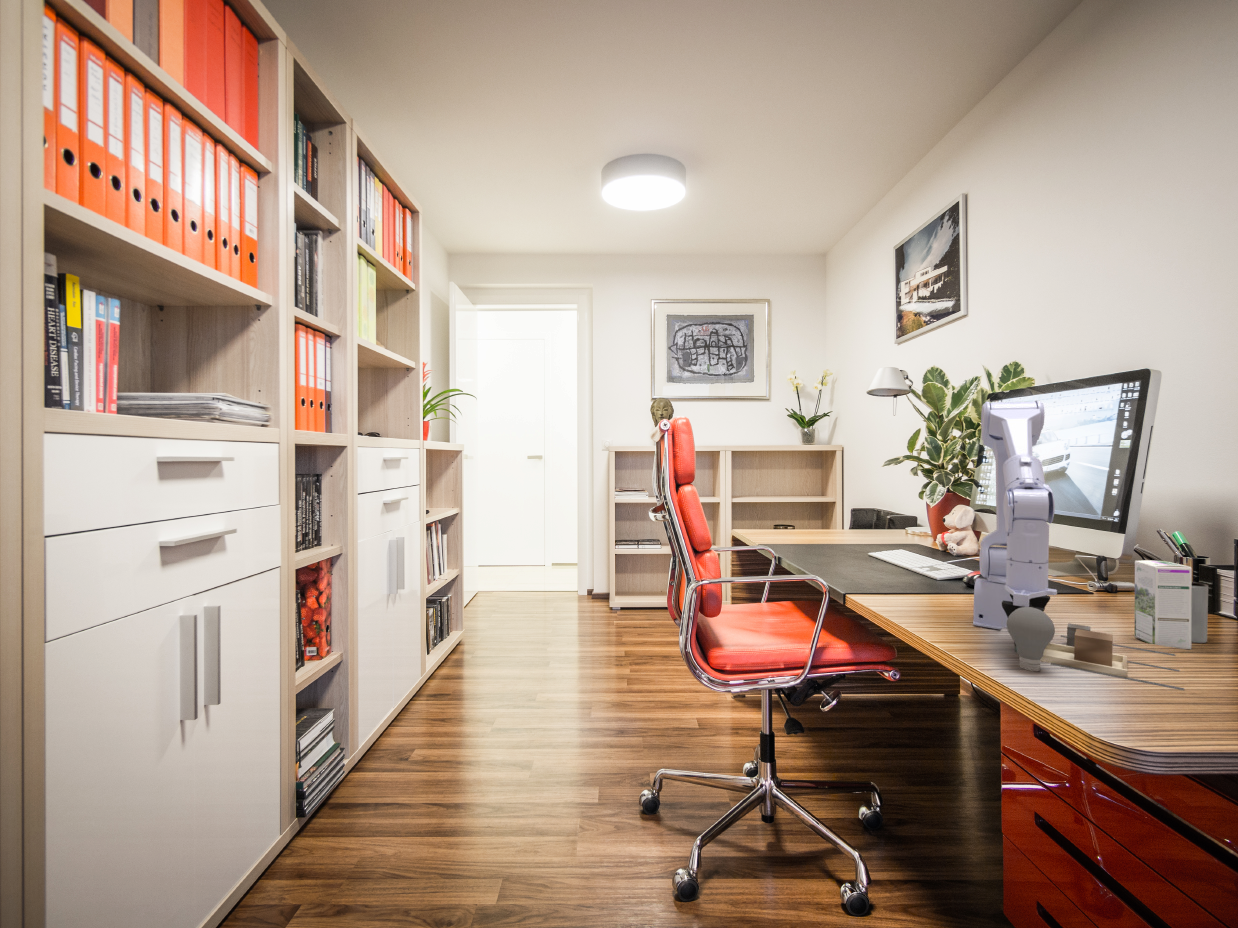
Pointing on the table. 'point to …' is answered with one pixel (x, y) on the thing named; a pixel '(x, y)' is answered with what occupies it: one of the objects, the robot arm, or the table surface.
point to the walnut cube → (1093, 647)
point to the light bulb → (1030, 635)
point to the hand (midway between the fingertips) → (1025, 641)
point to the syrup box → (1163, 603)
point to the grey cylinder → (1199, 612)
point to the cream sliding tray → (1066, 657)
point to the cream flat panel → (1071, 632)
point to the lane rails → (1129, 662)
